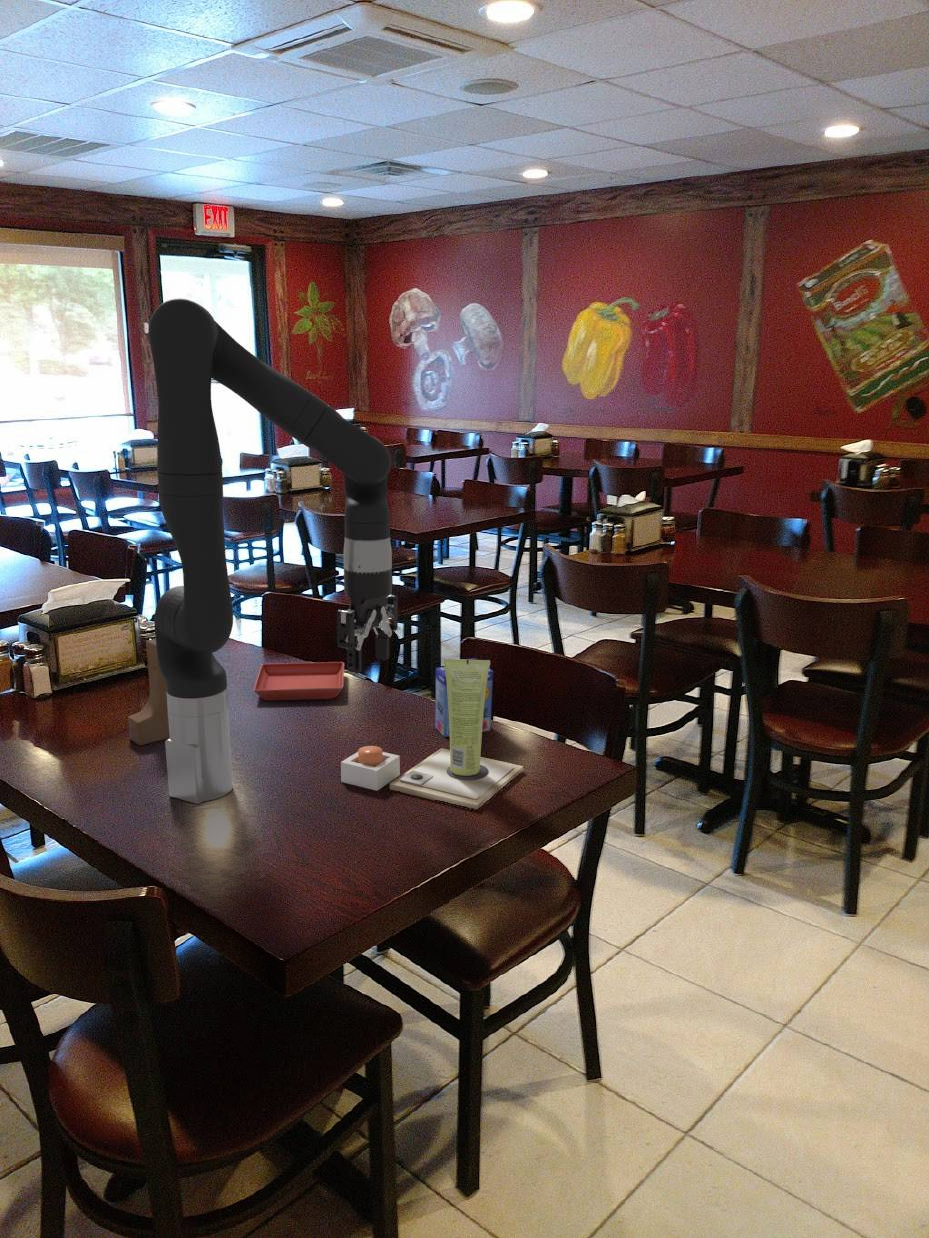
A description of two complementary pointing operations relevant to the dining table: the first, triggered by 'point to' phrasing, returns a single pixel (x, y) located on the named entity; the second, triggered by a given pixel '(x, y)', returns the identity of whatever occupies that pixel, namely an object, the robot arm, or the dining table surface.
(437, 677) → the ink cartridge box
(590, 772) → the dining table surface
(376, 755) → the button
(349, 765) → the button housing
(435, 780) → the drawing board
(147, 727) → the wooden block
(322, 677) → the plant saucer
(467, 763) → the tube
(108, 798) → the dining table surface
